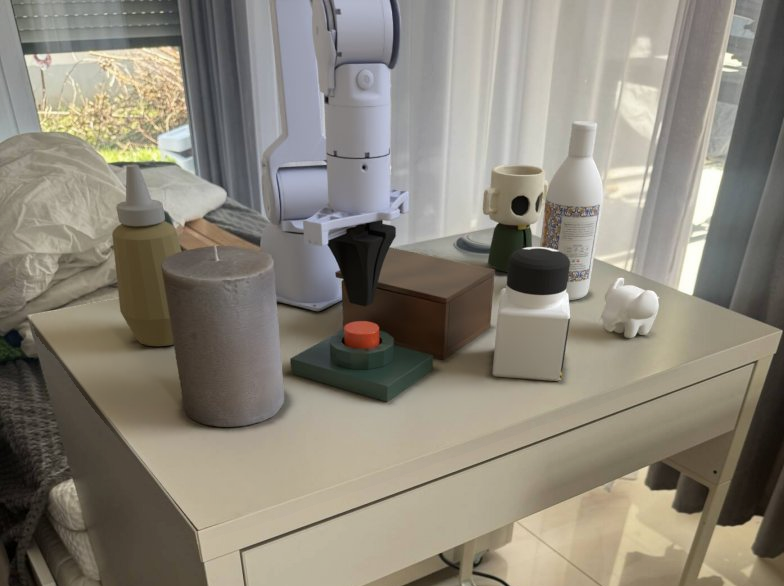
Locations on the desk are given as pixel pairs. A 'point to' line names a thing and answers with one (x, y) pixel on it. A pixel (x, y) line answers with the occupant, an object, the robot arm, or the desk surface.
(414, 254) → the lid
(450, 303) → the box
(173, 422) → the desk surface
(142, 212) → the squeeze bottle
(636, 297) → the elephant figurine
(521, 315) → the medicine bottle
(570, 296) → the bath foam
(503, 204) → the character mug
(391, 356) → the button block
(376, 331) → the button
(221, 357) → the pillar candle
